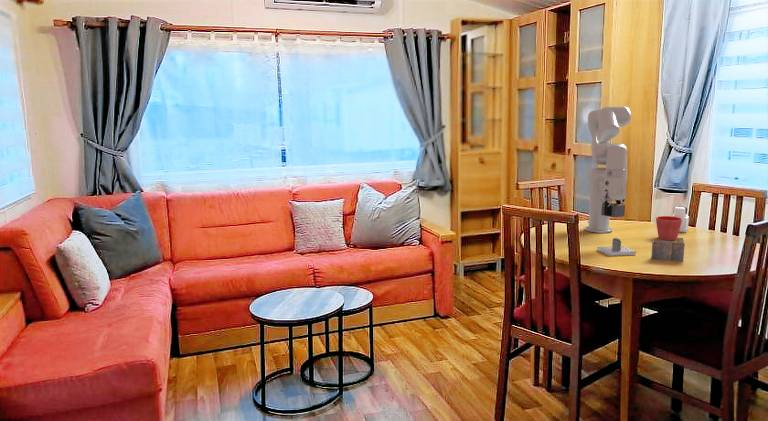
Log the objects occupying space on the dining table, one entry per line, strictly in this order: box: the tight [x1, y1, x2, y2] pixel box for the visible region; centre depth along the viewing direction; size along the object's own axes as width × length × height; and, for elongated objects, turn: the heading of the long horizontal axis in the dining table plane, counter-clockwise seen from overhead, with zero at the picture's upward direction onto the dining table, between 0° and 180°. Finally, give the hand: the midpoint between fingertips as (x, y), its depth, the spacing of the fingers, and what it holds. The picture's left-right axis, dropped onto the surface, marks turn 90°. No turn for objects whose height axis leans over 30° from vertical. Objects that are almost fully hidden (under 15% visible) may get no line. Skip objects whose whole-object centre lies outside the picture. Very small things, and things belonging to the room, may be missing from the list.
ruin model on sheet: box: [650, 236, 686, 262], centre depth 230 cm, size 11×3×10 cm, turn 72°
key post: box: [596, 237, 637, 257], centre depth 242 cm, size 10×12×6 cm
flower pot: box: [655, 215, 682, 241], centre depth 267 cm, size 11×11×10 cm
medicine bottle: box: [671, 205, 690, 233], centre depth 284 cm, size 7×7×12 cm
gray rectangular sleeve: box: [601, 202, 626, 219], centre depth 249 cm, size 7×6×5 cm
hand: (612, 214), depth 249 cm, fingers closed on gray rectangular sleeve, 6 cm apart
